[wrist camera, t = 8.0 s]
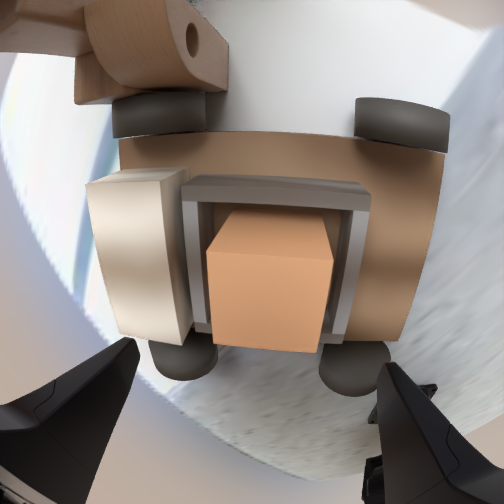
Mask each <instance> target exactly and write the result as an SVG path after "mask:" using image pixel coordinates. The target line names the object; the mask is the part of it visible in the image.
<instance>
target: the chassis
mask: <svg viewBox="0 0 504 504" xmlns="http://www.w3.org/2000/svg"><path fill="white" fill-rule="evenodd" d="M205 100H206V95H205V94H204V93H198V92H162V93H152V94H144V95H137V96H132V97H127V98H123V99H119V100H116V101H114V102H112V127H113V138H124V137H130V138H125V139H120V140H118V141H119V156H120V169H121V171H118V172H116V173H113V174H110V175H108V176H105V177H103V178H100V179H98V180H95V181H93V182H90V183H88V184H86V185H85V186H86V193H87V200H88V207H89V213H90V219H91V224H92V230H93V235H94V240H95V245H96V249H97V254H98V258H99V263H100V267H101V271H102V275H103V279H104V283H105V286H106V290H107V294H108V297H109V301H110V304H111V308H112V311H113V314H114V317H115V321H116V324H117V327H118V330H119V333H120V334H125V335H129V336H134V337H139V338H143V339H148V340H149V341H148V343H149V348H150V351H151V354H152V358H153V361H154V364H155V367H156V368H157V370H158V371H159V372H160V373H161V374H162V375H164V376H165V377H167V378H170V379H173V380H178V381H189V380H194V379H198V378H200V377H203V376H204V375H206V374H208V373H209V372H210V371H211V370H212V369H213V368H214V367H215V365H216V363H217V360H218V349H217V344H214V343H213V333H212V322H211V310H210V297H209V284H208V270H207V254H206V251H207V249H208V248H209V246H210V245H211V243H212V242H213V240H214V239H215V237H216V235H217V234H218V232H219V231H220V229H221V228H222V226H223V225H224V223H225V222H226V220H227V219H228V217H229V216H230V214H231V212H232V211H233V209H234V208H235V207H236V208H256V209H273V210H289V211H303V212H316V213H321V215H322V218H323V222H324V226H325V229H326V233H327V237H328V241H329V244H330V248H331V252H332V256H333V260H334V261H333V267H332V274H331V280H330V285H329V291H328V297H327V302H326V308H325V313H324V318H323V323H322V328H321V333H320V338H319V342H318V343H325V344H324V348H323V352H322V356H321V360H320V365H319V374H320V377H321V379H322V381H323V382H324V384H325V385H326V386H327V387H328V388H330V389H331V390H333V391H334V392H336V393H338V394H341V395H344V396H350V397H359V396H364V395H367V394H370V393H372V392H373V391H375V390H376V389H377V384H376V382H377V377H378V374H379V372H380V370H381V368H382V365H383V364H384V363H385V362H390V361H391V356H390V352H389V349H388V348H387V346H386V345H385V344H384V342H383V341H398V339H399V337H400V334H401V332H402V329H403V326H404V324H405V321H406V318H407V316H408V313H409V310H410V307H411V304H412V301H413V298H414V295H415V292H416V289H417V286H418V283H419V279H420V276H421V273H422V269H423V266H424V262H425V258H426V255H427V251H428V247H429V243H430V239H431V234H432V230H433V225H434V221H435V216H436V211H437V206H438V200H439V194H440V188H441V182H442V175H443V167H444V159H445V155H444V154H441V153H437V152H434V151H438V152H443V153H447V152H448V142H449V128H450V115H449V114H448V113H446V112H444V111H441V110H439V109H436V108H432V107H429V106H425V105H421V104H417V103H412V102H407V101H401V100H394V99H385V98H357V99H356V103H355V128H354V136H358V137H364V138H370V139H375V140H381V141H387V142H392V143H398V144H403V145H398V144H392V143H386V142H379V141H373V140H365V139H358V138H349V137H340V136H331V135H319V134H306V133H290V132H264V131H215V132H190V133H173V134H161V133H171V132H183V131H195V130H205V129H206V104H205ZM151 134H160V135H151ZM141 135H149V136H141ZM132 136H139V137H132ZM404 145H408V146H404ZM409 146H414V147H419V148H424V149H428V150H424V149H419V148H414V147H409ZM429 150H433V151H429Z"/></svg>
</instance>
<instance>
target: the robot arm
mask: <svg viewBox="0 0 504 504" xmlns="http://www.w3.org/2000/svg"><path fill="white" fill-rule="evenodd" d="M139 360H140V352H139V349H138V346H137V343H136V341H135V339H133V338H129V337H124V338H122V339H120V340H119V341H117V342H115V343H114V344H112V345H110V346H109V347H107V348H105V349H104V350H102V351H101V352H99V353H97V354H96V355H94V356H93V357H91V358H89V359H88V360H86V361H84V362H82V363H81V364H79V365H77V366H76V367H74V368H73V369H71V370H69V371H68V372H66V373H64V374H63V375H61V376H59V377H58V378H56V379H54V380H53V381H51V382H49V383H48V384H46V385H44V386H43V387H41V388H39V389H37V390H35V391H33V392H31V393H29V394H27V395H25V396H22V397H20V398H18V399H16V400H14V401H12V402H10V403H7V404H4V405H0V504H85V503H86V500H87V497H88V494H89V492H90V489H91V486H92V483H93V480H94V478H95V475H96V472H97V470H98V467H99V464H100V462H101V459H102V457H103V454H104V452H105V449H106V446H107V444H108V442H109V439H110V437H111V434H112V432H113V429H114V427H115V425H116V422H117V420H118V417H119V415H120V413H121V410H122V408H123V406H124V403H125V401H126V399H127V396H128V394H129V392H130V389H131V386H132V382H133V379H134V376H135V373H136V370H137V367H138V364H139ZM376 384H377V405H376V407H375V408H374V410H373V412H372V414H371V415H370V417H369V419H368V423H369V424H378V425H379V433H380V441H381V450H382V455H379V456H376V457H373V458H372V457H371V458H368V459H366V465H365V471H364V481H363V489H362V500H363V501H364V503H365V504H504V469H501V468H499V467H497V466H495V465H493V464H492V463H491V462H490V461H489V460H487V459H486V458H485V457H484V456H483V455H482V454H481V453H480V452H479V451H478V450H477V449H475V448H474V447H473V446H472V445H471V444H470V443H469V442H468V441H467V440H466V439H465V438H464V437H463V436H462V435H461V434H460V433H459V432H458V430H457V429H456V428H455V427H454V426H453V425H452V424H450V422H449V420H448V419H447V418H446V417H445V416H444V415H443V414H442V413H441V411H440V410H439V409H438V408H437V407H436V406H435V405H434V404H433V403H432V401H431V398H432V397H433V395H434V394H435V392H436V391H437V389H438V388H437V385H436V384H434V385H425V386H417V385H416V384H415V383H414V382H413V381H412V379H411V378H410V377H409V376H408V375H407V374H406V373H405V372H404V371H403V370H402V369H401V368H400V367H399V365H398V364H397V363H395V362H385V363H384V364H383V365H382V368H381V370H380V372H379V374H378V377H377V382H376Z"/></svg>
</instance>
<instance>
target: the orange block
mask: <svg viewBox="0 0 504 504" xmlns="http://www.w3.org/2000/svg"><path fill="white" fill-rule="evenodd" d="M206 254H207V270H208V284H209V297H210V310H211V322H212V333H213V343H214V344H222V345H230V346H238V347H247V348H257V349H267V350H279V351H292V352H308V353H316V351H317V347H318V342H319V338H320V333H321V328H322V323H323V318H324V313H325V308H326V302H327V297H328V291H329V285H330V280H331V274H332V267H333V261H334V260H333V256H332V252H331V248H330V244H329V241H328V237H327V233H326V229H325V226H324V222H323V218H322V215H321V213H316V212H303V211H289V210H273V209H256V208H236V207H235V208H234V209H233V211H232V212H231V214H230V216H229V217H228V219H227V220H226V222H225V223H224V225H223V226H222V228H221V229H220V231H219V232H218V234H217V235H216V237H215V239H214V240H213V242H212V243H211V245H210V246H209V248H208V249H207V251H206Z"/></svg>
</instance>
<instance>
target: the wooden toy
mask: <svg viewBox="0 0 504 504" xmlns="http://www.w3.org/2000/svg"><path fill="white" fill-rule="evenodd" d="M0 52H17V53H36V54H48V55H58V56H67V57H76V58H75V79H74V102H75V104H77V105H93V104H112V102H114V101H116V100H119V99H123V98H127V97H132V96H137V95H144V94H152V93H162V92H198V93H202V92H216V91H227V90H228V43H227V42H226V41H225V39H224V38H223V37H222V36H221V35H220V34H219V33H218V32H217V31H216V30H215V28H214V27H213V26H212V25H211V24H210V23H209V22H208V21H207V20H206V19H205V18H204V17H203V16H202V15H201V14H200V13H199V12H198V11H197V10H196V9H195V8H194V7H193V6H192V5H191V4H190V3H189V2H188V1H187V0H0Z"/></svg>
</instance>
